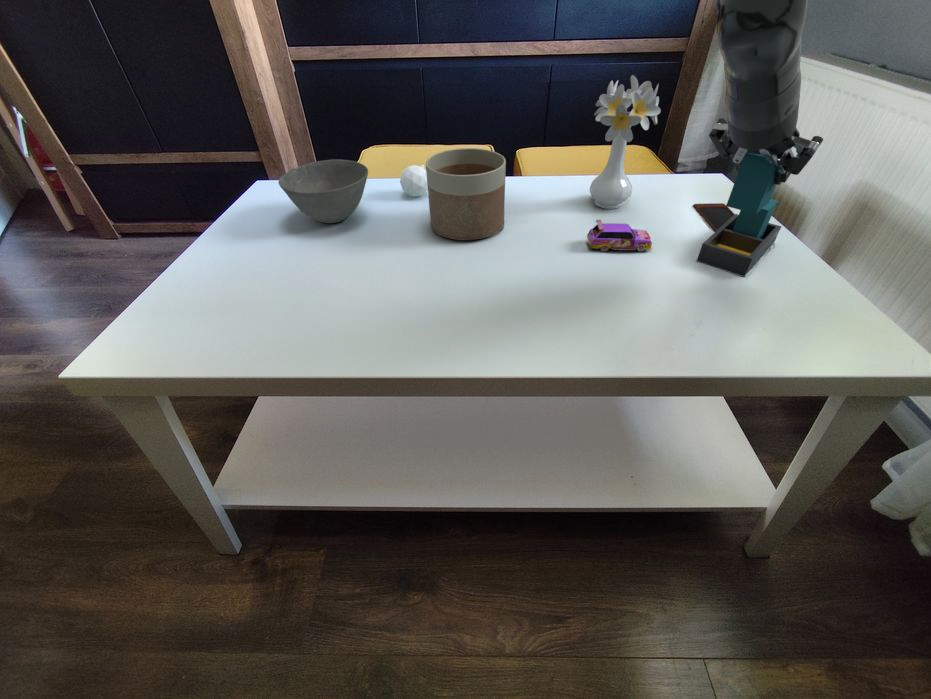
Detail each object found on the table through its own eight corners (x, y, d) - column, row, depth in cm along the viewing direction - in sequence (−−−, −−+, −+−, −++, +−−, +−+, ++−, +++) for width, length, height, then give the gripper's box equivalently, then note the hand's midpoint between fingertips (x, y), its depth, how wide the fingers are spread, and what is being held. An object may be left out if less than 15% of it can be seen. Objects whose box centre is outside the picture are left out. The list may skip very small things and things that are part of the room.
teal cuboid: (761, 239, 89) (778, 200, 84) (751, 250, 86) (768, 210, 81) (737, 233, 91) (753, 194, 86) (727, 243, 88) (742, 203, 83)
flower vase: (580, 220, 99) (600, 92, 82) (581, 188, 112) (598, 71, 96) (642, 224, 97) (675, 93, 80) (635, 190, 110) (662, 72, 94)
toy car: (652, 253, 87) (658, 231, 84) (589, 252, 88) (593, 230, 85) (645, 239, 92) (651, 218, 89) (585, 238, 93) (589, 217, 89)
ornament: (402, 189, 114) (417, 160, 112) (425, 204, 113) (441, 175, 111) (389, 184, 108) (405, 153, 105) (414, 201, 107) (430, 169, 104)
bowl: (333, 195, 113) (323, 154, 106) (391, 211, 105) (385, 167, 98) (273, 225, 101) (258, 180, 95) (333, 245, 93) (322, 198, 87)
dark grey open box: (773, 243, 89) (781, 226, 87) (744, 276, 80) (752, 259, 78) (728, 230, 94) (735, 213, 91) (696, 260, 85) (702, 243, 83)
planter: (427, 213, 103) (422, 151, 94) (495, 207, 105) (496, 145, 96) (435, 246, 92) (430, 178, 83) (511, 238, 93) (514, 171, 84)
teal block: (769, 202, 71) (791, 149, 66) (755, 214, 68) (778, 159, 63) (740, 195, 73) (759, 143, 68) (725, 206, 70) (745, 152, 65)
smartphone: (724, 202, 103) (754, 233, 91) (723, 206, 103) (752, 237, 92) (692, 203, 103) (718, 233, 92) (691, 207, 104) (717, 237, 92)
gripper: (848, 80, 51) (830, 163, 64) (721, 65, 59) (729, 142, 73) (808, 141, 51) (799, 210, 65) (688, 118, 60) (703, 184, 73)
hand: (762, 174), depth 69 cm, fingers closed on teal block, 4 cm apart
